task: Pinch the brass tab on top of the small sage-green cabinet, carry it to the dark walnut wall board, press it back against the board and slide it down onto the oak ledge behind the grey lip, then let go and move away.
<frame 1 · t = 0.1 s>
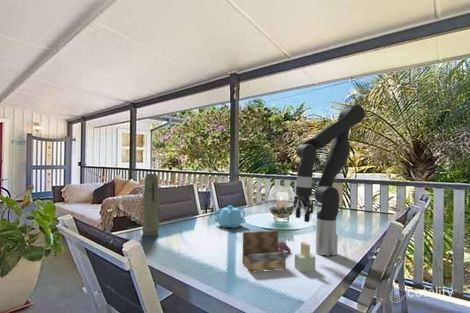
hand: (302, 219, 144), 17 cm above the table, tool pointing down, fingers open, 8 cm apart
thermos: (150, 234, 175), on the table
decorative pot: (230, 226, 198), on the table
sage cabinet: (304, 269, 128), on the table
wall board ledge: (264, 267, 129), on the table
video game controller: (280, 254, 147), on the table
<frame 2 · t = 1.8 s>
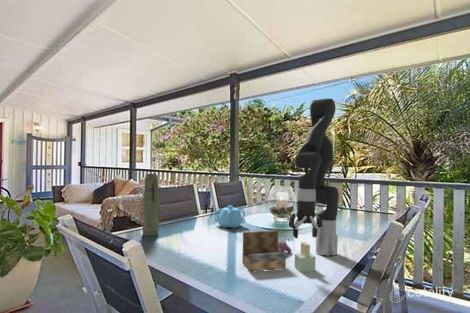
hand: (305, 237, 128), 14 cm above the table, tool pointing down, fingers open, 8 cm apart
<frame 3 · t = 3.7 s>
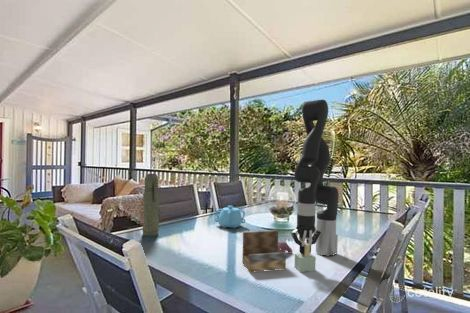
hand: (305, 253, 128), 7 cm above the table, tool pointing down, fingers closed on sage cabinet
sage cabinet: (304, 269, 128), on the table, touching gripper
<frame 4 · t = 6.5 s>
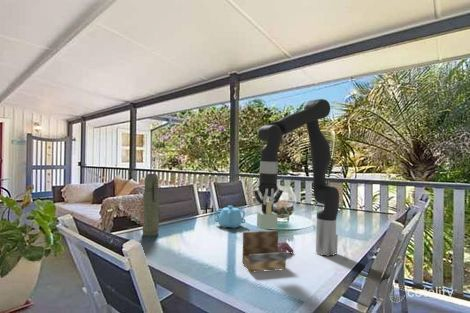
hand: (267, 212, 128), 23 cm above the table, tool pointing down, fingers closed on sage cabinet
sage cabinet: (266, 227, 128), point 17 cm above the table, touching gripper
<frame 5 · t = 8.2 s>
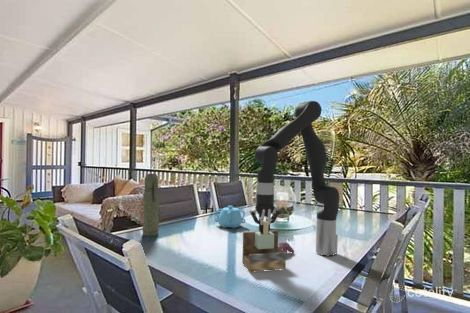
hand: (264, 232, 130), 14 cm above the table, tool pointing down, fingers closed on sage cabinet
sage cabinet: (264, 246, 130), point 8 cm above the table, touching gripper
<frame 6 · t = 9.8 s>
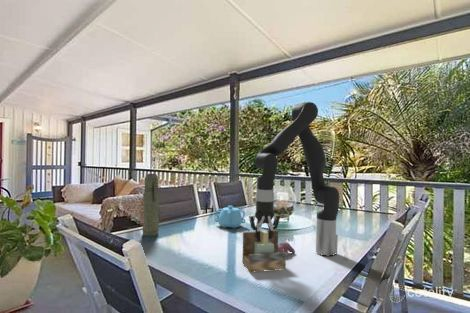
hand: (263, 238, 130), 12 cm above the table, tool pointing down, fingers open, 4 cm apart
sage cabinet: (263, 256, 130), point 4 cm above the table, touching wall board ledge
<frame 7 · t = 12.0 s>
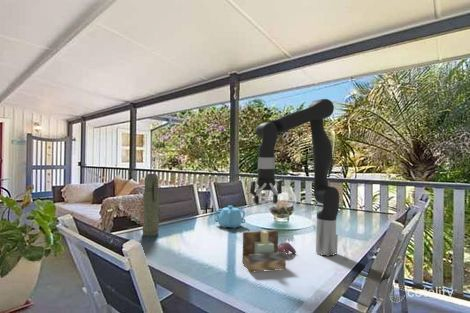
hand: (265, 203, 135), 26 cm above the table, tool pointing down, fingers open, 8 cm apart
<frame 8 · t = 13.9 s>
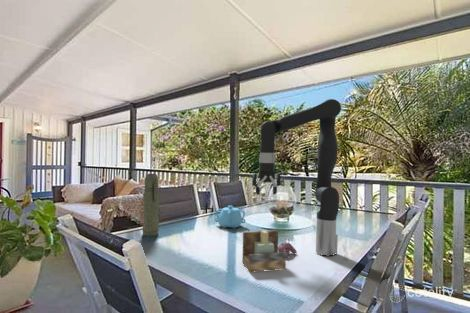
hand: (266, 194, 150), 28 cm above the table, tool pointing down, fingers open, 8 cm apart
at the end: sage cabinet inside the target area (0.3 cm from its centre), point 4.0 cm above the table; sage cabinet tilted 0°; the gripper is holding nothing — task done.
